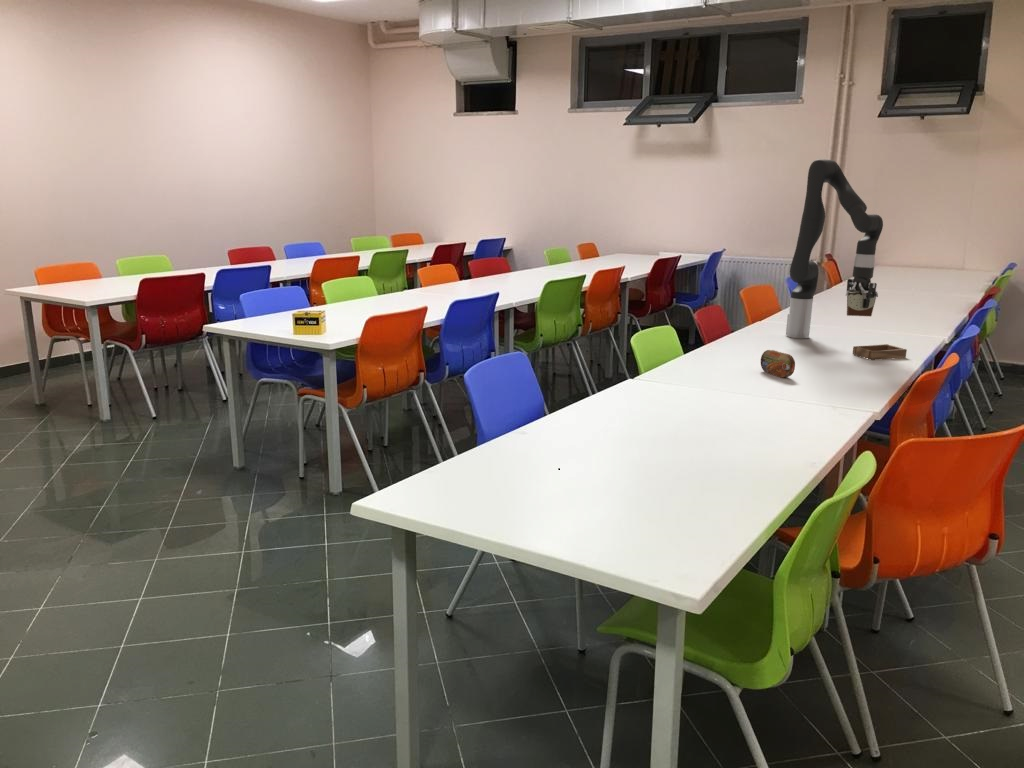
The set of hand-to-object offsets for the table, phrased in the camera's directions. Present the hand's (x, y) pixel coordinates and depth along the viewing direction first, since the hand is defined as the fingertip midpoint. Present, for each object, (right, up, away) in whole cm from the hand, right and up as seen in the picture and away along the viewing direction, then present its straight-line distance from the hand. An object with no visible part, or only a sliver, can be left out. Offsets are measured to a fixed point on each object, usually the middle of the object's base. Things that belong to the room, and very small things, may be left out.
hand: (858, 306), depth 321 cm
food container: (0, -3, +1) cm, 4 cm away
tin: (-46, -28, -40) cm, 67 cm away
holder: (+4, -20, -9) cm, 22 cm away
